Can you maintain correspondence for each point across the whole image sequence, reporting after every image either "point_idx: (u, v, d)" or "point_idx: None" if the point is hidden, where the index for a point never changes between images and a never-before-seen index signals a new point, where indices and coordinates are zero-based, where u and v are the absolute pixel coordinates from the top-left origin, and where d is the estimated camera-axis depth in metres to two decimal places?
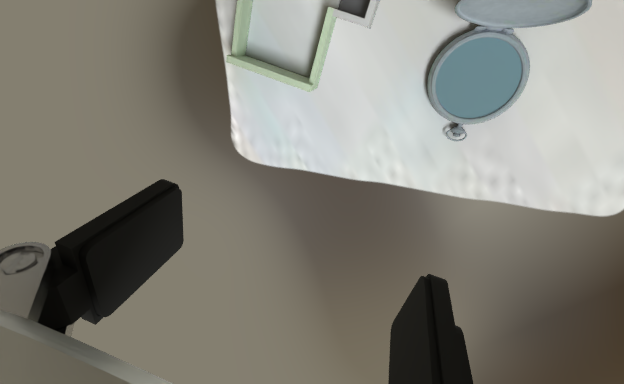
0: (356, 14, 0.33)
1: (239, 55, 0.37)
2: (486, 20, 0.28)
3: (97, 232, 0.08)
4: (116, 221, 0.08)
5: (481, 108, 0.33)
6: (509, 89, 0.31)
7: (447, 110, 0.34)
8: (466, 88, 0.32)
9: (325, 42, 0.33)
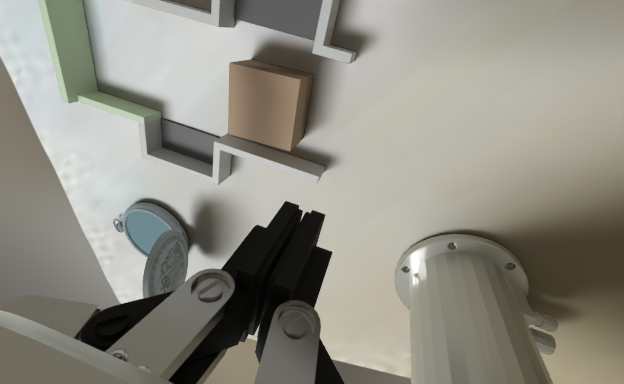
0: (162, 137, 0.33)
1: None
2: None
3: (265, 257, 0.08)
4: (272, 246, 0.09)
5: (138, 241, 0.41)
6: None
7: (127, 220, 0.39)
8: (146, 230, 0.40)
9: None
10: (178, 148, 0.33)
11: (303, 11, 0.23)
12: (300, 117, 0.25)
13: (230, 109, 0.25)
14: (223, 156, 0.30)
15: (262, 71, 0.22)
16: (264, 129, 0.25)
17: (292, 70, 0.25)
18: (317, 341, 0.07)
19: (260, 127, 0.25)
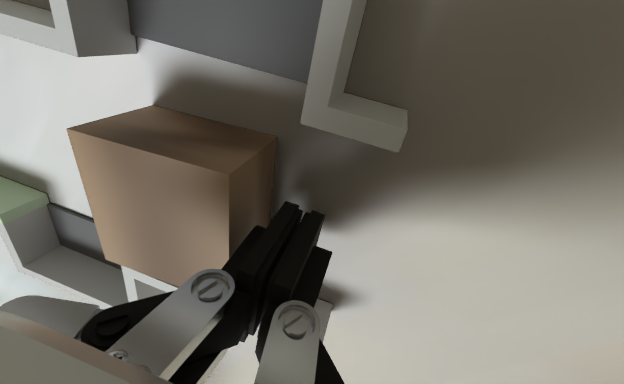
0: (57, 231, 0.19)
1: None
2: None
3: (265, 257, 0.08)
4: (272, 246, 0.09)
5: None
6: None
7: None
8: None
9: None
10: (83, 248, 0.19)
11: (279, 16, 0.10)
12: (249, 231, 0.12)
13: (96, 219, 0.11)
14: None
15: (140, 151, 0.09)
16: (169, 261, 0.11)
17: (230, 131, 0.11)
18: (317, 341, 0.07)
19: (161, 256, 0.11)
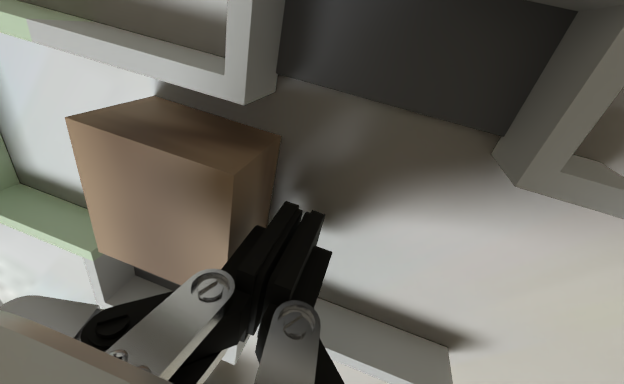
0: None
1: None
2: None
3: (265, 258, 0.08)
4: (272, 246, 0.09)
5: None
6: None
7: None
8: None
9: None
10: (162, 280, 0.18)
11: (465, 60, 0.09)
12: (248, 230, 0.12)
13: (91, 211, 0.11)
14: None
15: (142, 145, 0.09)
16: (165, 257, 0.11)
17: (233, 128, 0.11)
18: (317, 341, 0.07)
19: (157, 252, 0.11)
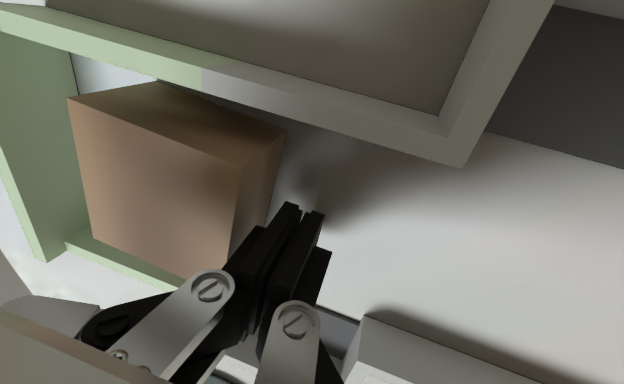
0: None
1: None
2: None
3: (265, 258, 0.08)
4: (272, 246, 0.09)
5: None
6: None
7: None
8: None
9: None
10: None
11: None
12: (249, 223, 0.11)
13: (88, 196, 0.11)
14: None
15: (146, 131, 0.09)
16: (164, 247, 0.11)
17: (239, 119, 0.11)
18: (317, 341, 0.07)
19: (155, 241, 0.11)
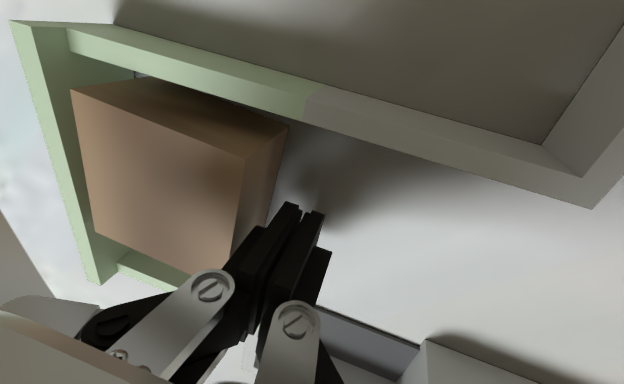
0: None
1: None
2: None
3: (265, 257, 0.08)
4: (272, 246, 0.09)
5: None
6: None
7: None
8: None
9: None
10: None
11: None
12: (252, 217, 0.11)
13: (91, 189, 0.11)
14: None
15: (150, 122, 0.09)
16: (166, 240, 0.11)
17: (242, 113, 0.11)
18: (317, 341, 0.07)
19: (158, 235, 0.11)
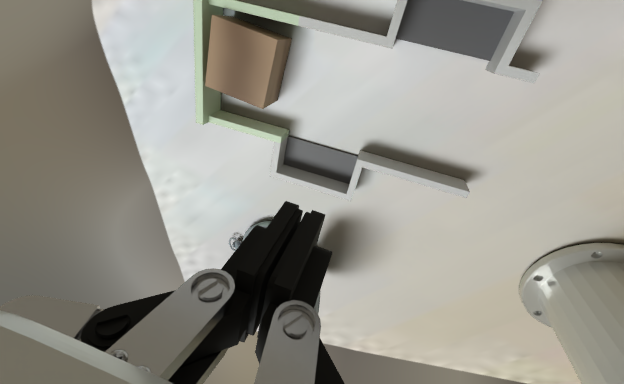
0: (286, 154, 0.32)
1: (214, 5, 0.25)
2: None
3: (265, 257, 0.08)
4: (272, 246, 0.09)
5: None
6: None
7: None
8: None
9: None
10: (301, 164, 0.33)
11: (475, 30, 0.23)
12: (275, 78, 0.27)
13: (209, 61, 0.26)
14: None
15: (242, 27, 0.24)
16: (240, 84, 0.26)
17: (272, 32, 0.26)
18: (317, 341, 0.07)
19: (236, 82, 0.26)
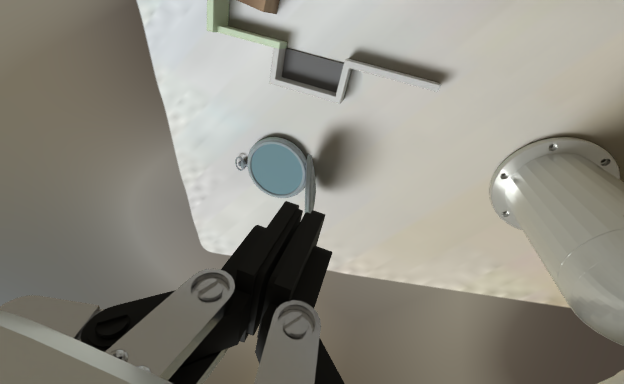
0: (284, 66, 0.37)
1: None
2: None
3: (265, 258, 0.08)
4: (272, 246, 0.09)
5: (260, 176, 0.45)
6: (274, 190, 0.45)
7: (253, 155, 0.43)
8: (270, 164, 0.43)
9: (254, 41, 0.35)
10: (297, 76, 0.37)
11: None
12: None
13: None
14: (347, 76, 0.34)
15: None
16: None
17: None
18: (317, 341, 0.07)
19: None
